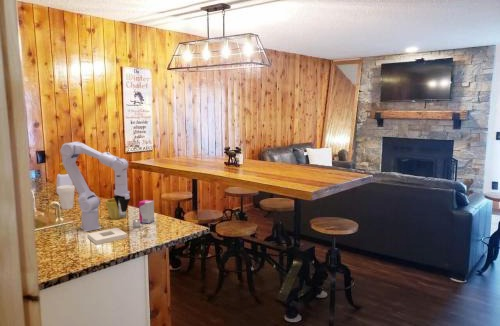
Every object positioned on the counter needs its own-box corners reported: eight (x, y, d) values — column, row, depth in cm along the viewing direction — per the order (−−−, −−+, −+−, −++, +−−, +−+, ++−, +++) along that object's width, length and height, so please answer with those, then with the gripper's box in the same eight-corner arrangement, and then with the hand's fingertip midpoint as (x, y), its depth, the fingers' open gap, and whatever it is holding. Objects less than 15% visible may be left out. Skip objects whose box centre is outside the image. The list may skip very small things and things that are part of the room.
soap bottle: (69, 190, 276) (66, 160, 273) (74, 194, 266) (72, 162, 262) (54, 192, 270) (52, 161, 267) (59, 196, 260) (57, 163, 256)
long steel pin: (117, 216, 190) (117, 200, 188) (124, 215, 192) (124, 199, 191) (120, 217, 187) (120, 201, 186) (127, 216, 189) (127, 200, 188)
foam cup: (69, 210, 225) (68, 188, 223) (55, 209, 226) (53, 188, 224) (79, 206, 234) (77, 185, 232) (65, 205, 235) (63, 184, 234)
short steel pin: (131, 226, 195) (131, 220, 194) (138, 225, 197) (138, 218, 197) (134, 228, 192) (134, 221, 192) (141, 227, 194) (141, 220, 194)
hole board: (87, 237, 178) (87, 233, 178) (117, 231, 187) (117, 227, 187) (96, 244, 169) (96, 240, 169) (127, 237, 178) (127, 233, 178)
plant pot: (130, 216, 213) (129, 199, 212) (116, 221, 204) (115, 203, 203) (116, 213, 218) (115, 197, 217) (102, 218, 209) (101, 201, 207)
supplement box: (154, 221, 205) (154, 200, 203) (149, 224, 199) (148, 202, 197) (145, 220, 206) (144, 199, 204) (139, 223, 200) (138, 202, 199)
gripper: (135, 185, 184) (136, 212, 186) (123, 180, 195) (124, 206, 197) (121, 186, 179) (122, 215, 181) (109, 182, 190) (110, 208, 192)
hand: (122, 210), depth 189 cm, fingers closed on long steel pin, 4 cm apart
